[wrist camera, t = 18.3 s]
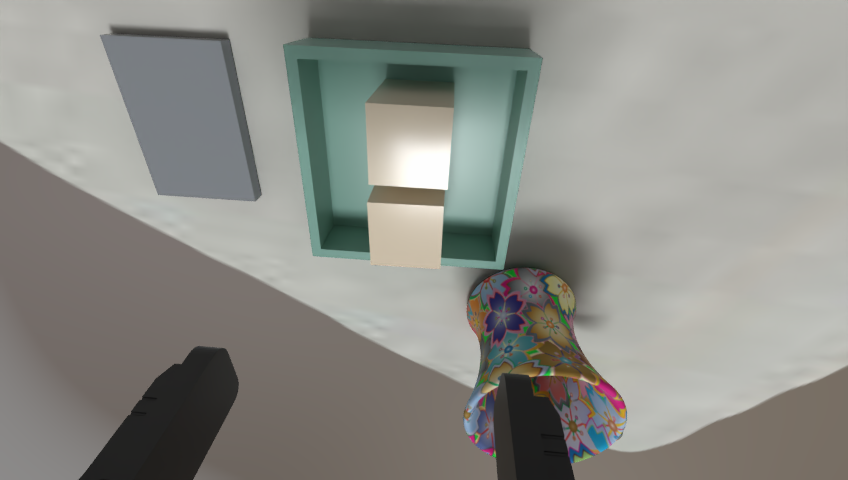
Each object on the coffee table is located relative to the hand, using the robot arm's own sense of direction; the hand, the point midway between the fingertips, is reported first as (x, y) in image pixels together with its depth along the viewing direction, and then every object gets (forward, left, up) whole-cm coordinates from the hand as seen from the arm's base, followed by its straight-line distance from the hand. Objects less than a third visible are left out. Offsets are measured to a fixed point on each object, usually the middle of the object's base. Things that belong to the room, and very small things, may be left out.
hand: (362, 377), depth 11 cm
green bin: (-1, 0, -17) cm, 17 cm away
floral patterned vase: (+12, +10, -17) cm, 23 cm away
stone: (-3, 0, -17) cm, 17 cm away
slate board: (-2, -15, -17) cm, 23 cm away
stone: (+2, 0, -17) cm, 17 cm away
